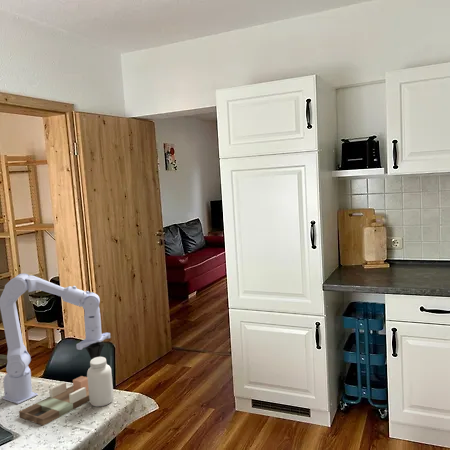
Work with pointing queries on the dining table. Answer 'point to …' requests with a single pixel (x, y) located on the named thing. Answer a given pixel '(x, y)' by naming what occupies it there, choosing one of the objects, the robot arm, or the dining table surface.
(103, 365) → the pill bottle
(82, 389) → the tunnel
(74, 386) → the block
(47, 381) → the dining table surface
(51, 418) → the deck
